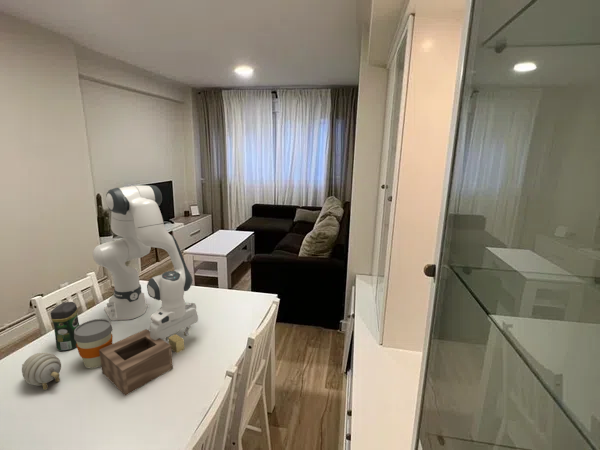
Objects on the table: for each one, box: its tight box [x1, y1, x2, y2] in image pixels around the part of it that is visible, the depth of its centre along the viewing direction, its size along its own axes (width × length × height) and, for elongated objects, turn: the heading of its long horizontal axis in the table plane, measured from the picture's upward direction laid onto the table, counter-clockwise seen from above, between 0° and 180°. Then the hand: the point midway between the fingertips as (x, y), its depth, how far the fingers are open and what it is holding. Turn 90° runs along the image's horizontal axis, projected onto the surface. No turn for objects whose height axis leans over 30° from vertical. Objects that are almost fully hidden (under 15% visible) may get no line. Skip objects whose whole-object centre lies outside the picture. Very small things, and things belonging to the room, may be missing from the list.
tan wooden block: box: [167, 333, 185, 354], centre depth 137 cm, size 6×4×5 cm, turn 53°
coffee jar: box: [50, 301, 80, 352], centre depth 135 cm, size 10×8×19 cm
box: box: [99, 328, 174, 396], centre depth 122 cm, size 18×18×10 cm
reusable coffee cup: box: [74, 318, 113, 369], centre depth 127 cm, size 13×13×15 cm
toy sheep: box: [21, 352, 62, 391], centre depth 115 cm, size 11×17×11 cm, turn 72°
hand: (176, 340), depth 136 cm, fingers open, 8 cm apart
